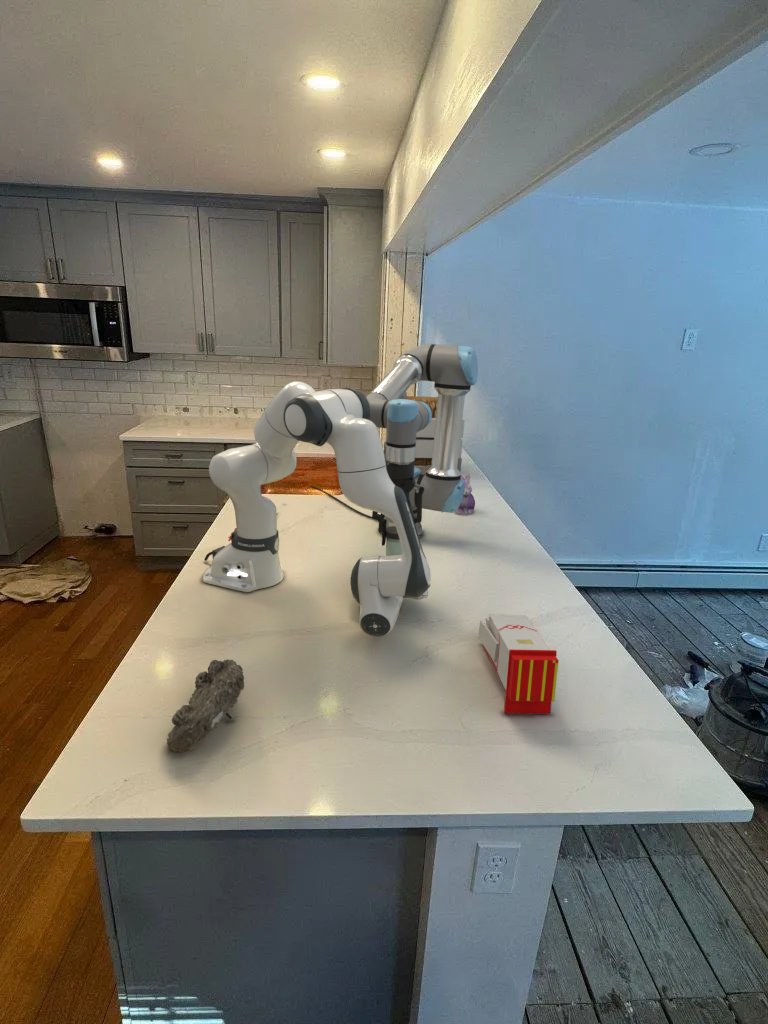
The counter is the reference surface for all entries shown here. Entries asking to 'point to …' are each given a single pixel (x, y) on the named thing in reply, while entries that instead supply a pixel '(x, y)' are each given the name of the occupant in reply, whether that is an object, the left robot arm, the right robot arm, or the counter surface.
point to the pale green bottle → (393, 547)
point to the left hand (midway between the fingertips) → (394, 570)
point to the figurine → (466, 498)
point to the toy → (521, 662)
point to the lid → (392, 533)
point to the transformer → (427, 435)
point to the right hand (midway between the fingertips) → (395, 544)
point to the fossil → (206, 705)
